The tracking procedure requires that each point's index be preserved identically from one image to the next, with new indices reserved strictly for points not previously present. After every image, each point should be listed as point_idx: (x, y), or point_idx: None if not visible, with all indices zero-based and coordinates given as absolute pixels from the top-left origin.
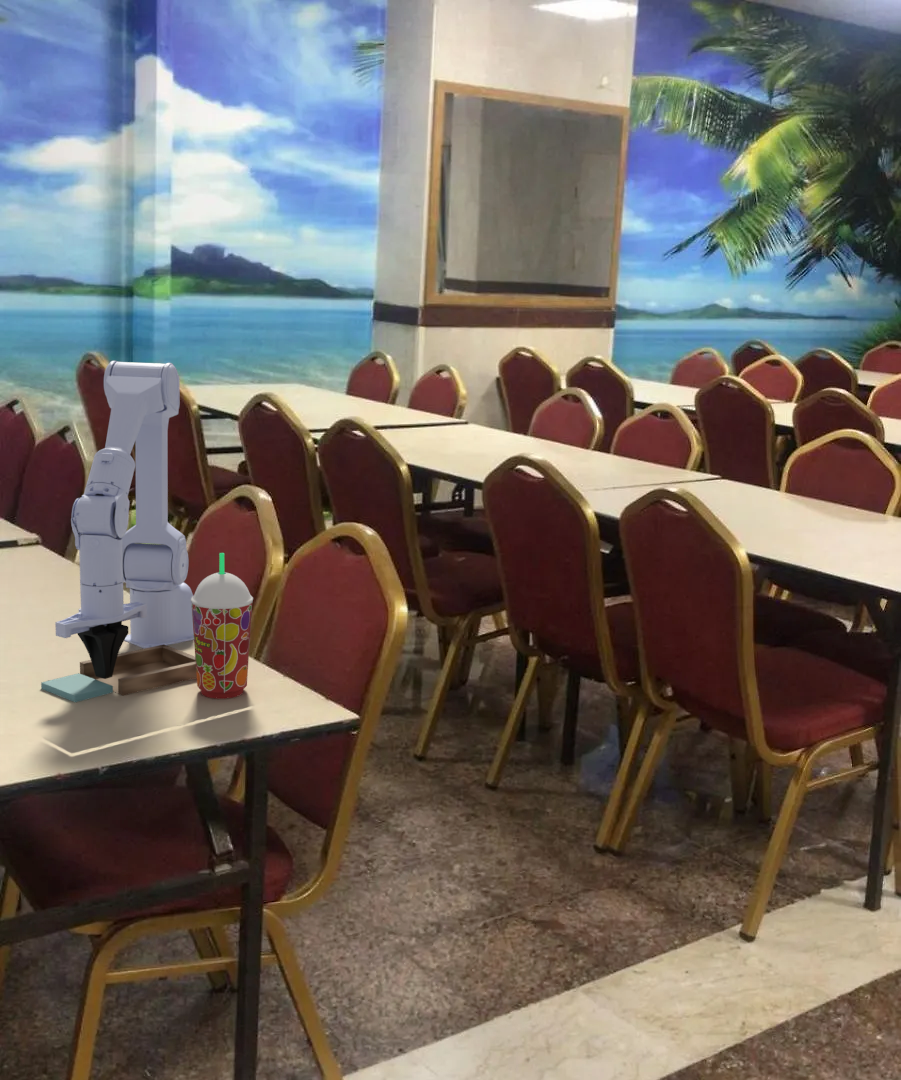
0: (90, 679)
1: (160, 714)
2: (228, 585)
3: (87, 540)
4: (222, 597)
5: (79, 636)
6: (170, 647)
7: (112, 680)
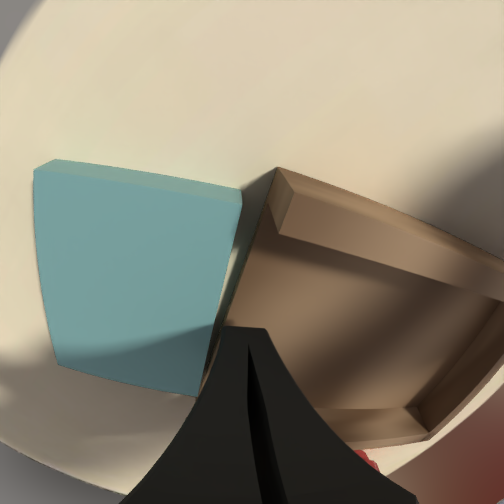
0: (200, 310)
1: None
2: None
3: None
4: None
5: (125, 499)
6: None
7: (300, 315)
